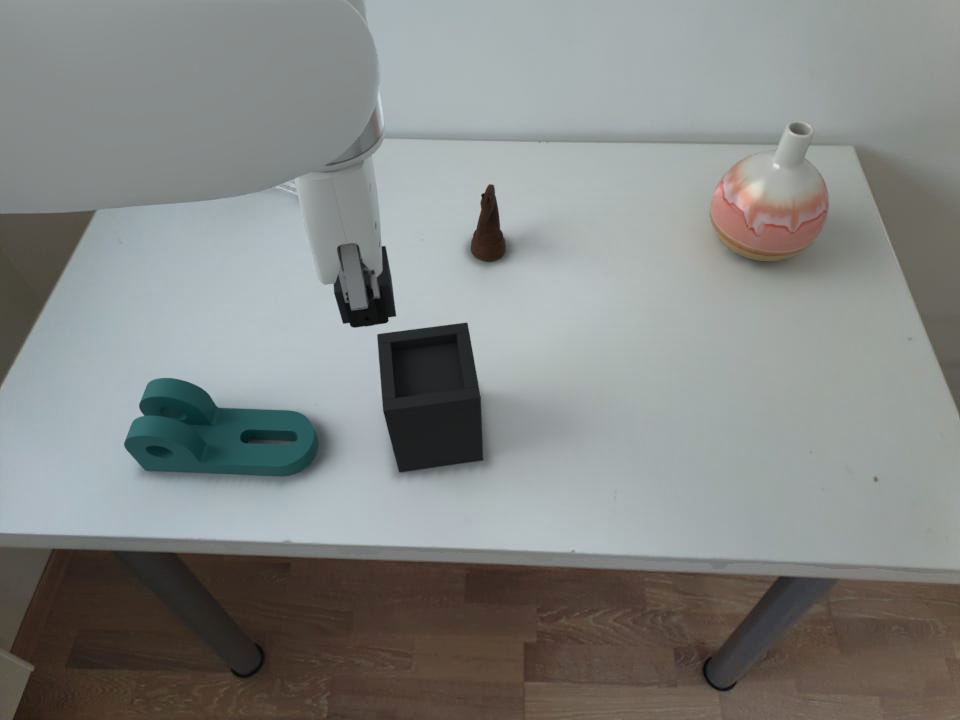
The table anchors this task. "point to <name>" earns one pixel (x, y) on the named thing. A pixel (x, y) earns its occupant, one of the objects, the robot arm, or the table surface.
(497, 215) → the chess piece
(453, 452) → the black rectangular box
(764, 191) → the vase
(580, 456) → the table surface
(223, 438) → the bracket
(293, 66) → the robot arm
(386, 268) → the dark grey cube
